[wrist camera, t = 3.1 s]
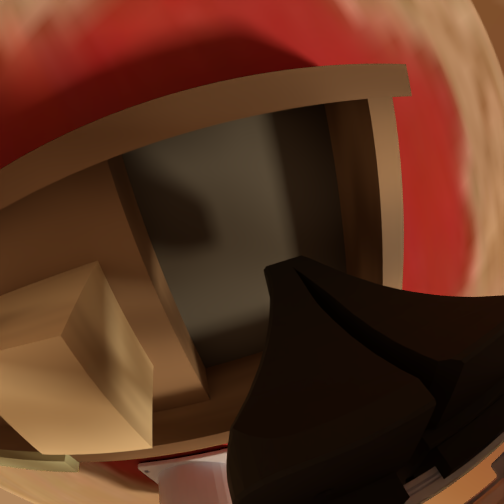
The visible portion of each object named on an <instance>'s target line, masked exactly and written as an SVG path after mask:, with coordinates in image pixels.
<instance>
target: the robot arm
mask: <svg viewBox="0 0 504 504" xmlns="http://www.w3.org/2000/svg"><path fill="white" fill-rule="evenodd" d="M263 271H264V275H265V279H266V283H267V288H268V292H269V296H270V311H269V323H268V330H267V336H266V341H265V345H264V349H263V353H262V357H261V360H260V364H259V367H258V370H257V372H256V375H255V377H254V380H253V382H252V385H251V388H250V390H249V393H248V395H247V397H246V399H245V401H244V403H243V405H242V407H241V409H240V411H239V412H238V414H237V416H236V418H235V420H234V422H233V424H232V425H231V427H230V432H229V440H228V447H227V448H226V449H221V450H217V451H212V452H208V453H203V454H198V455H193V456H187V457H181V458H175V459H169V460H162V461H154V462H146V463H139V464H138V469H139V470H140V471H141V472H143V473H144V474H145V475H146V476H148V477H149V478H150V479H152V480H153V481H154V482H156V483H157V484H158V487H159V500H160V504H423V503H424V502H425V501H427V500H429V499H431V498H432V497H434V496H435V495H437V494H438V493H440V492H441V491H443V490H444V489H446V488H447V487H449V486H450V485H452V484H453V483H454V482H456V481H457V480H458V479H460V478H461V477H463V476H464V475H465V474H467V473H468V472H469V471H470V470H472V469H473V468H474V467H476V466H477V465H478V464H479V463H480V462H482V461H483V460H484V459H485V458H486V457H488V456H489V455H490V454H491V453H492V452H493V451H495V450H496V449H497V448H498V447H499V446H500V445H501V444H502V443H503V442H504V295H503V296H485V297H455V296H440V295H431V294H424V293H417V292H411V291H405V290H400V289H396V288H392V287H388V286H383V285H380V284H376V283H373V282H370V281H367V280H364V279H361V278H358V277H355V276H352V275H349V274H347V273H344V272H341V271H339V270H336V269H334V268H332V267H329V266H327V265H324V264H322V263H320V262H317V261H315V260H313V259H310V258H308V257H305V256H302V255H301V256H298V257H294V258H291V259H288V260H285V261H282V262H278V263H275V264H272V265H269V266H266V267H265V269H264V270H263ZM491 467H492V468H493V470H494V471H495V473H496V474H497V477H496V478H495V479H494V480H493V481H492V482H491V483H489V484H488V485H487V486H486V487H485V488H483V489H482V490H481V491H480V492H479V493H477V494H476V495H475V496H473V497H472V498H471V499H470V500H468V501H467V502H466V503H464V504H504V452H503V453H502V454H501V455H500V457H498V458H497V459H496V460H495V461H494V462H493V463H492V465H491Z"/></svg>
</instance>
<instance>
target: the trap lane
mask: <svg viewBox="0 0 504 504" xmlns="http://www.w3.org/2000/svg"><path fill="white" fill-rule="evenodd" d="M400 96H412V95H411V89H410V83H409V78H408V73H407V68H406V64H348V65H330V66H318V67H307V68H298V69H290V70H282V71H275V72H268V73H262V74H256V75H251V76H245V77H240V78H235V79H230V80H225V81H221V82H216V83H212V84H208V85H204V86H199V87H196V88H192V89H188V90H184V91H181V92H177V93H174V94H170V95H167V96H163V97H160V98H157V99H154V100H151V101H148V102H145V103H142V104H139V105H136V106H133V107H130V108H127V109H125V110H122V111H119V112H117V113H114V114H111V115H109V116H106V117H104V118H101V119H99V120H96V121H94V122H92V123H89V124H87V125H85V126H82V127H80V128H78V129H76V130H73V131H71V132H69V133H67V134H65V135H63V136H61V137H58V138H56V139H54V140H52V141H50V142H48V143H46V144H44V145H42V146H41V147H39V148H37V149H35V150H33V151H31V152H29V153H28V154H26V155H24V156H22V157H20V158H19V159H17V160H15V161H13V162H12V163H10V164H8V165H7V166H5V167H3V168H2V169H0V296H1V295H4V294H6V293H9V292H12V291H14V290H17V289H20V288H22V287H25V286H28V285H30V284H33V283H36V282H38V281H41V280H44V279H47V278H49V277H52V276H55V275H58V274H60V273H63V272H66V271H69V270H72V269H75V268H77V267H80V266H83V265H86V264H89V263H92V262H95V261H98V262H99V264H100V267H101V269H102V271H103V273H104V275H105V277H106V279H107V282H108V284H109V286H110V288H111V290H112V292H113V294H114V296H115V298H116V300H117V302H118V304H119V306H120V308H121V310H122V312H123V313H124V315H125V317H126V319H127V321H128V323H129V325H130V326H131V328H132V330H133V332H134V334H135V335H136V337H137V339H138V341H139V343H140V344H141V346H142V348H143V349H144V351H145V353H146V354H147V356H148V358H149V359H150V361H151V363H152V364H153V366H154V367H153V398H152V448H149V449H142V450H133V451H124V452H113V453H99V454H76V455H47V454H42V453H40V452H39V451H38V450H37V449H36V448H34V447H33V446H32V445H31V444H30V443H29V442H28V441H26V440H25V439H24V438H23V437H22V436H21V435H20V434H19V433H18V432H17V431H16V430H15V429H14V428H12V427H11V426H10V425H9V424H8V423H7V422H6V421H5V420H4V419H3V418H2V417H1V416H0V466H6V467H12V468H20V469H29V470H40V471H54V472H79V464H80V463H79V462H105V461H120V460H131V459H141V458H149V457H157V456H164V455H170V454H177V453H182V452H188V451H193V450H198V449H203V448H208V447H213V446H217V445H222V444H226V443H228V440H229V432H230V427H231V425H232V424H233V422H234V420H235V418H236V416H237V414H238V412H239V411H240V409H241V407H242V405H243V403H244V401H245V399H246V397H247V395H248V393H249V390H250V388H251V385H252V382H253V380H254V377H255V375H256V372H257V370H258V367H259V364H260V360H261V357H262V353H263V349H264V345H265V341H266V336H267V330H268V323H269V311H270V296H269V292H268V288H267V283H266V279H265V275H264V271H263V270H264V269H265V267H266V266H269V265H272V264H275V263H278V262H282V261H285V260H288V259H291V258H294V257H298V256H301V255H302V256H305V257H308V258H310V259H313V260H315V261H317V262H320V263H322V264H324V265H327V266H329V267H332V268H334V269H336V270H339V271H341V272H344V273H347V274H349V275H352V276H355V277H358V278H361V279H364V280H367V281H370V282H373V283H376V284H380V285H383V286H388V287H392V288H396V289H400V290H402V280H403V252H404V220H403V192H402V175H401V163H400V152H399V143H398V134H397V126H396V119H395V112H394V106H393V99H392V97H400Z"/></svg>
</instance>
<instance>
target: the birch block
mask: <svg viewBox="0 0 504 504" xmlns="http://www.w3.org/2000/svg"><path fill="white" fill-rule="evenodd" d="M153 367H154V366H153V364H152V363H151V361H150V359H149V358H148V356H147V354H146V353H145V351H144V349H143V348H142V346H141V344H140V343H139V341H138V339H137V337H136V335H135V334H134V332H133V330H132V328H131V326H130V325H129V323H128V321H127V319H126V317H125V315H124V313H123V312H122V310H121V308H120V306H119V304H118V302H117V300H116V298H115V296H114V294H113V292H112V290H111V288H110V286H109V284H108V282H107V279H106V277H105V275H104V273H103V271H102V269H101V267H100V264H99V262H98V261H95V262H92V263H89V264H86V265H83V266H80V267H77V268H75V269H72V270H69V271H66V272H63V273H60V274H58V275H55V276H52V277H49V278H47V279H44V280H41V281H38V282H36V283H33V284H30V285H28V286H25V287H22V288H20V289H17V290H14V291H12V292H9V293H6V294H4V295H1V296H0V416H1V417H2V418H3V419H4V420H5V421H6V422H7V423H8V424H9V425H10V426H11V427H12V428H14V429H15V430H16V431H17V432H18V433H19V434H20V435H21V436H22V437H23V438H24V439H25V440H26V441H28V442H29V443H30V444H31V445H32V446H33V447H34V448H36V449H37V450H38V451H39V452H40V453H42V454H47V455H76V454H99V453H113V452H124V451H133V450H142V449H149V448H152V398H153Z"/></svg>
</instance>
